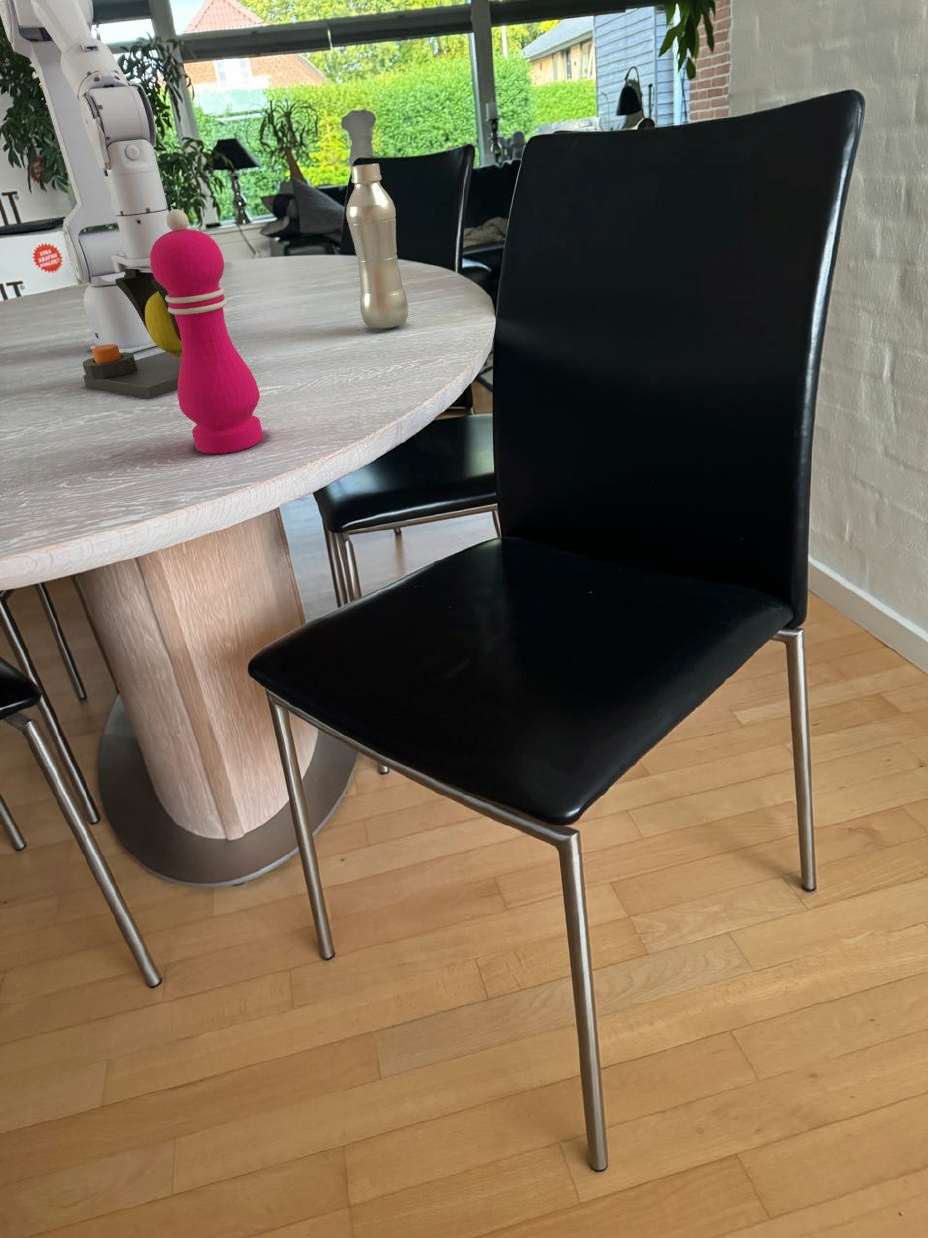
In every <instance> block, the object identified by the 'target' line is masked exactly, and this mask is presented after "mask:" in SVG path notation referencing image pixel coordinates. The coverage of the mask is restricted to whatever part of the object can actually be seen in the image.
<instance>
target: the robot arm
mask: <svg viewBox="0 0 928 1238" xmlns="http://www.w3.org/2000/svg"><path fill="white" fill-rule="evenodd" d="M93 6H94V5H93V0H0V18H1V22H2V25H3V28H4V31H5V35H6V38H7V40H8V42H9V43H10V45H11V47H12V50H13V52H14V53H17V54H19V55H21V56H24V57H26V58H28V59H29V60H30V62H31V64H32V67H33V68H34V70H35V72H36V75H37V76H38V78H39V82H40V85H41V88H42V91H43V95H44V98H45V101H46V106H47V108H48V111H49V116H50V119H51V122H52V125H53V128H54V132H55V135H56V139H57V141H58V144H59V148H60V151H61V154H62V158H63V161H64V165H65V168H66V172H67V174H68V177H69V181H70V184H71V185H70V186H71V188H72V191H73V194H74V198H75V200H76V205H75V207H74V208H73V209H72V210H71V211H70V212H69V214H68V215H67V216H66V218H65V219H64V221H63V223H62V232H63V236H64V239H65V246H66V251H67V255H68V258H69V262H70V265H71V267H72V270H73V272H74V275H75V276H76V278H77V279H78V280H79V281H80V282H82V284H86V285H88V286H87V287H86V289H85V291H84V294H83V306H84V311H85V314H86V317H87V320H88V323H89V328H90V331H91V333H92V337H93V341H94V342H95V343H94V345H90V350H92V349H93V348H95V347H98V346H102V345H108V344H116V345H118V348H119V352H120V353H124V352H126V353H133V354H134V353H136V352H140V351H144V350H147V349H151V348H154V347H158V346H157V345H156V344H155V343H154V342H153V340H152V339H151V337H150V335H149V332H148V330H147V326H146V321H145V307H146V304H147V301H148V300H149V298H150V297H151V296H152V295H153V294H155V293H156V292H157V291H158V292H159V294H160V295H161V297H162V299H163V301H164V303H165V305H166V307H167V309H168V308H169V306H168V302H167V301H166V300H165V297H166V296H167V295H168V294H169V293H168V291H167V290H166V289H165V288H164V287H163V286H162V285H161V284H160V283H159V282H158V281H157V280H156V279H155V277H154V276H153V273H152V270H151V265H150V253H151V250H152V246H153V245H154V243H155V242H156V241H157V240H158V238H160V237H161V236H162V235H164V234H166V233H168V232H171V231H172V230H171V229H170V228H169V227H168V225H167V222H166V217H167V214H168V213H169V212H170V210H169V206H168V204H167V203H168V202H167V199H166V194H165V191H164V186H163V182H162V178H161V174H160V170H159V165H158V162H157V157H156V153H155V149H154V146H155V145H156V143H157V129H156V122H155V117H154V113H153V109H152V106H151V105H152V104H151V102H150V100H149V97H148V95H147V93H146V91H145V88H144V86H143V85H142V84H140V83H139V82H135V81H134V80H127V78H126V75H125V74H124V72H123V71H122V69H121V67H120V65H119V64H118V62H117V59H116V58H115V56H114V54H113V53H112V51H111V49H110V48H109V47H108V45H106V44H105V43H104V42H103V41H102V40H100V39H98V38H95V37H94V36H93V34H92V28H93V19H94V7H93ZM108 225H117V226H118V227H113V228H106V229H105V228H104V229H98V230H91V231H86V232H85V231H84V232H82V230H83V229H87V228H95V227H103V226H108ZM169 314H170V317H171V320H172V323H173V326H174V329H175V331H176V334H177V336H178V338H179V340H180V341H182V340H181V335H180V330H179V327H178V324H177V321H176V318H175V315H174V314H172V313H170V312H169Z"/></svg>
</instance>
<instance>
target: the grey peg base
mask: <svg viewBox="0 0 928 1238" xmlns="http://www.w3.org/2000/svg"><path fill="white" fill-rule="evenodd" d="M120 355H121V359H118V360H115V361H110V362H105V363H96V362H95V359H94V356H93V357H90V358H88V359H86V360H84V361H82V367H83V371H84V375H82V377H83V381H84V384H85V387H87V388H91V389H98V390H103V391H107V392H108V391H109V392H114V393H118V394H124V395H129V396H135V397H140V398H146V399H151V400H152V399H154V398H157V397H161V396H164V395H167V394H170V393H174V392H177V391H178V378H179V372H180V367H181V361H182V356H181V357H176V356H174V355H173V354H172V353H170V352H167V351H162V352H159V353H155V354H153V355H149V356H144V357H142V358H138V359H136V358H135V356H134V352H133V353H126V352H124V353H120Z"/></svg>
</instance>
